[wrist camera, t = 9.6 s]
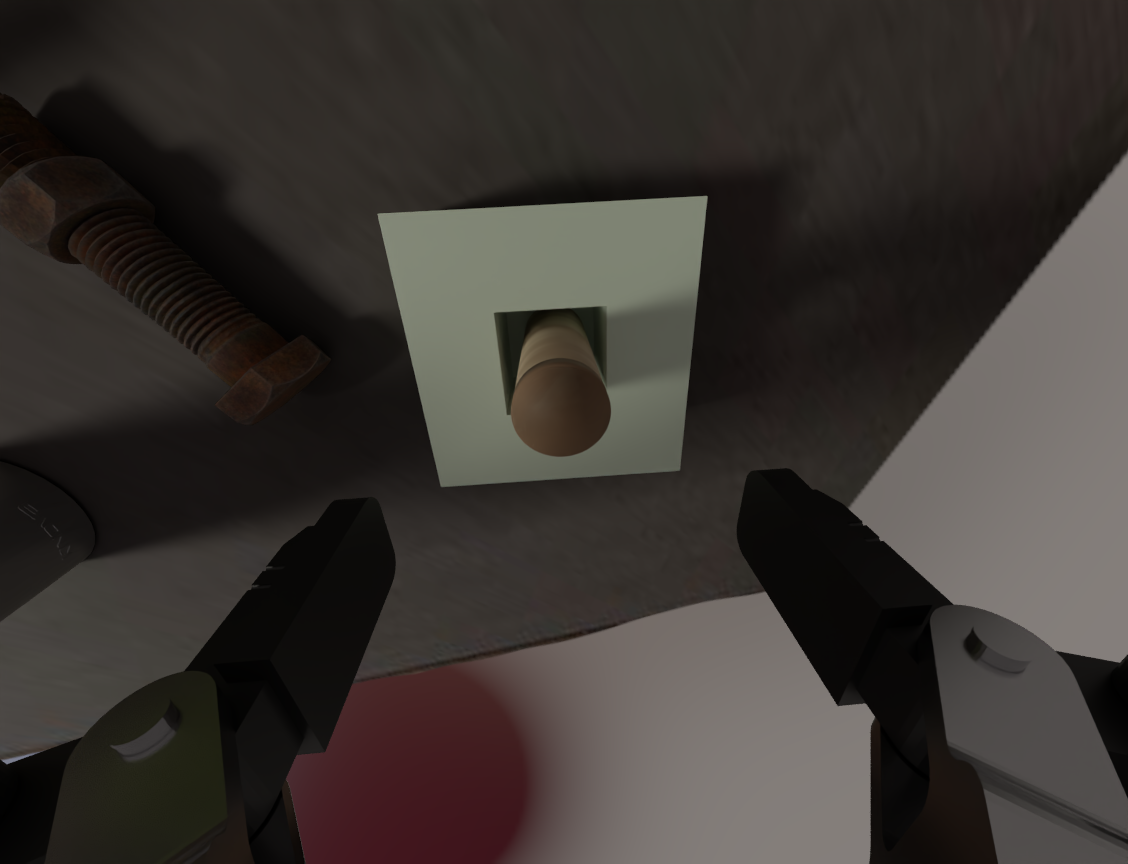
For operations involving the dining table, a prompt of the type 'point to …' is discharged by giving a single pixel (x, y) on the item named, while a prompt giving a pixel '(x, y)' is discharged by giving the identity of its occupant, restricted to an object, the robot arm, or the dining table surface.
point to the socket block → (538, 282)
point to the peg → (558, 387)
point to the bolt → (143, 264)
